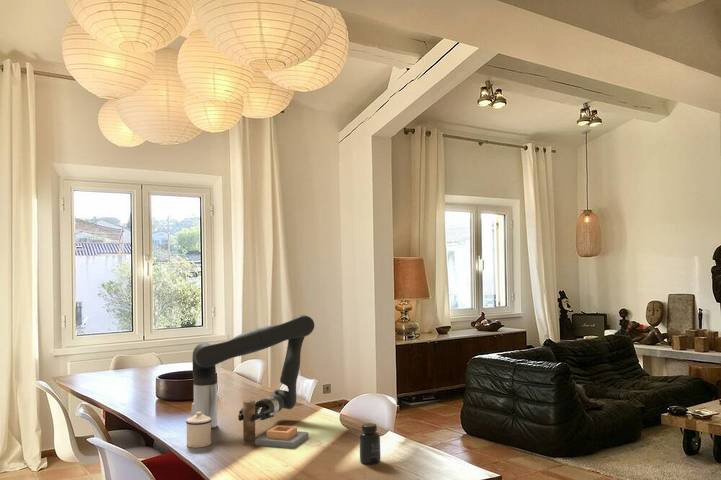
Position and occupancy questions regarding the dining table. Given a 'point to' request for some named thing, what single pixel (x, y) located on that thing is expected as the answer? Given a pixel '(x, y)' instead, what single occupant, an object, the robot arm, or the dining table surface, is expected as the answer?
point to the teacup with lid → (198, 430)
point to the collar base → (282, 437)
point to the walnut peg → (248, 420)
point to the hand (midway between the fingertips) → (245, 418)
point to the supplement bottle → (369, 444)
